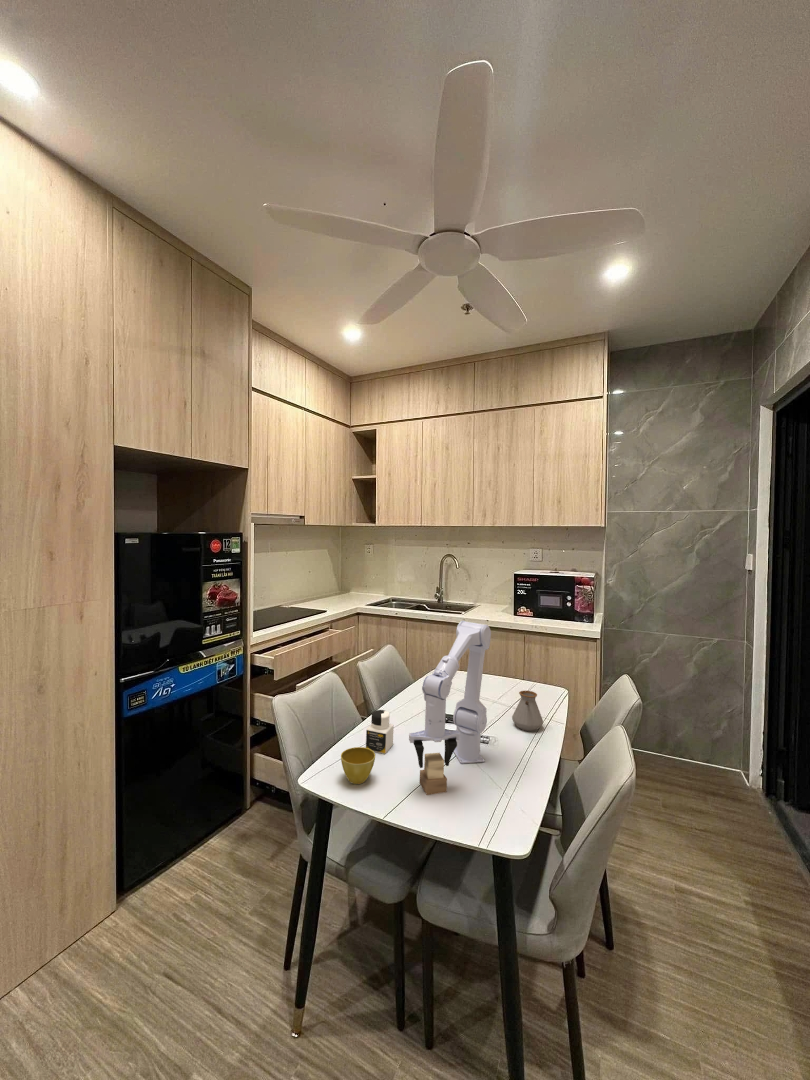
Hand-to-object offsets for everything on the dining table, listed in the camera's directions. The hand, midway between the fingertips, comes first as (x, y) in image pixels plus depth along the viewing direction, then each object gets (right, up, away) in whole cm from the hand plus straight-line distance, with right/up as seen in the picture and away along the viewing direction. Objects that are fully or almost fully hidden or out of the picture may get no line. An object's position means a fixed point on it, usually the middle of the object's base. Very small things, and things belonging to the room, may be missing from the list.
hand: (433, 765), depth 126 cm
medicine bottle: (-17, -6, +22) cm, 29 cm away
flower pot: (-22, -6, +3) cm, 23 cm away
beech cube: (0, -3, 0) cm, 3 cm away
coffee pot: (+37, -7, +38) cm, 53 cm away
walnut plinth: (0, -7, 0) cm, 7 cm away
